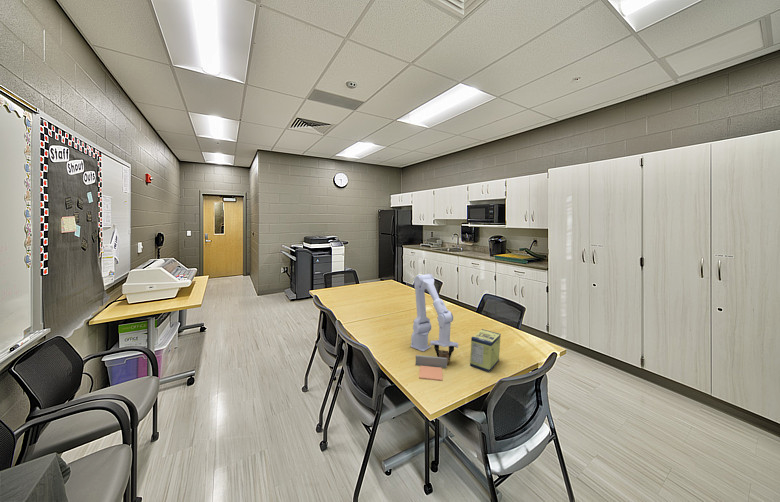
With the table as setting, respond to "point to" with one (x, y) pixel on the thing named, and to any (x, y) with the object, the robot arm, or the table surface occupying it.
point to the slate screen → (431, 361)
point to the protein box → (485, 350)
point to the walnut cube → (444, 354)
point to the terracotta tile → (430, 373)
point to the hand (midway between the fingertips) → (443, 358)
